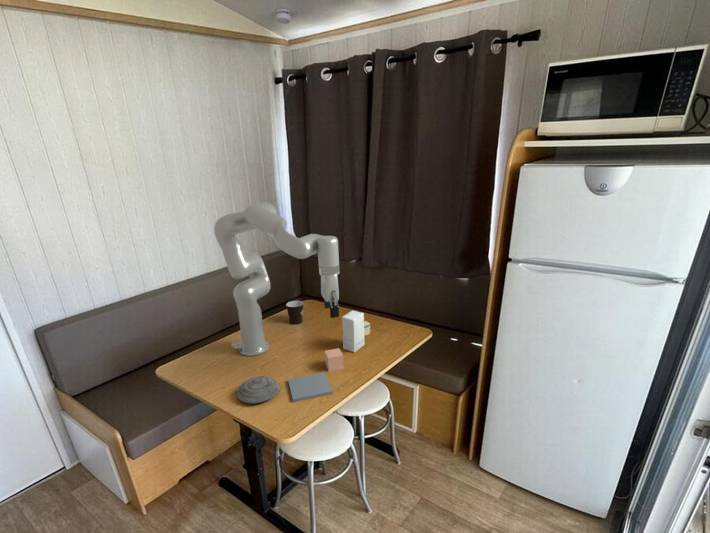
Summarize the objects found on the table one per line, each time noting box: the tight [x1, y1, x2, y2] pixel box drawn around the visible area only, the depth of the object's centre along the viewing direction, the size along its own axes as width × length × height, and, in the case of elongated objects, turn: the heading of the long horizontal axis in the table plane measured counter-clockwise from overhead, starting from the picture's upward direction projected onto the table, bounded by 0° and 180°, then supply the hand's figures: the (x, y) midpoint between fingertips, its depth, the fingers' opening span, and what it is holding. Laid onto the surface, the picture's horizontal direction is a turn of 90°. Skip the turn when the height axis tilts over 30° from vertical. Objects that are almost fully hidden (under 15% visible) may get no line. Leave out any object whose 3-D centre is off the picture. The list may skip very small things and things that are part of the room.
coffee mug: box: [285, 300, 304, 326], centre depth 191 cm, size 12×9×10 cm
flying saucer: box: [236, 375, 281, 404], centre depth 133 cm, size 15×15×6 cm
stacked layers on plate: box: [364, 320, 372, 337], centre depth 175 cm, size 10×9×6 cm
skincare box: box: [341, 310, 366, 353], centre depth 162 cm, size 8×7×16 cm
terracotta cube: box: [324, 347, 345, 372], centre depth 149 cm, size 6×6×6 cm
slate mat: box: [287, 371, 333, 403], centre depth 136 cm, size 14×13×1 cm
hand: (331, 312), depth 143 cm, fingers open, 9 cm apart
